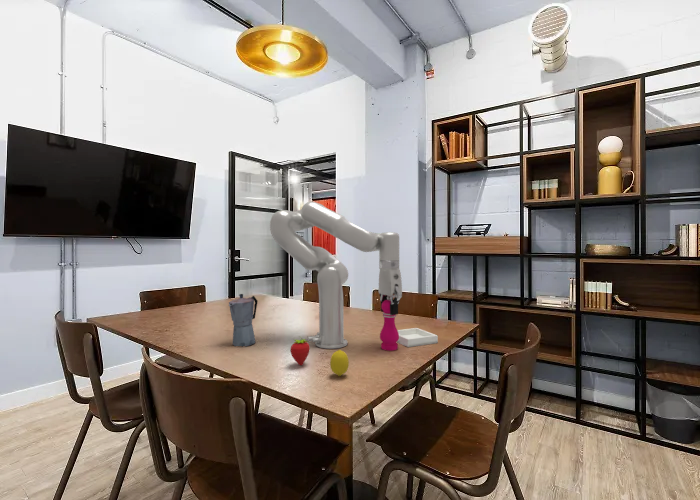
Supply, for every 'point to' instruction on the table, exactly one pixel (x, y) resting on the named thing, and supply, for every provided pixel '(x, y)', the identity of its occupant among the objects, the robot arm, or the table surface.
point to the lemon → (339, 362)
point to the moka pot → (243, 320)
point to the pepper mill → (388, 328)
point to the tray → (416, 337)
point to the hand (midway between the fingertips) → (389, 312)
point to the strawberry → (300, 351)
